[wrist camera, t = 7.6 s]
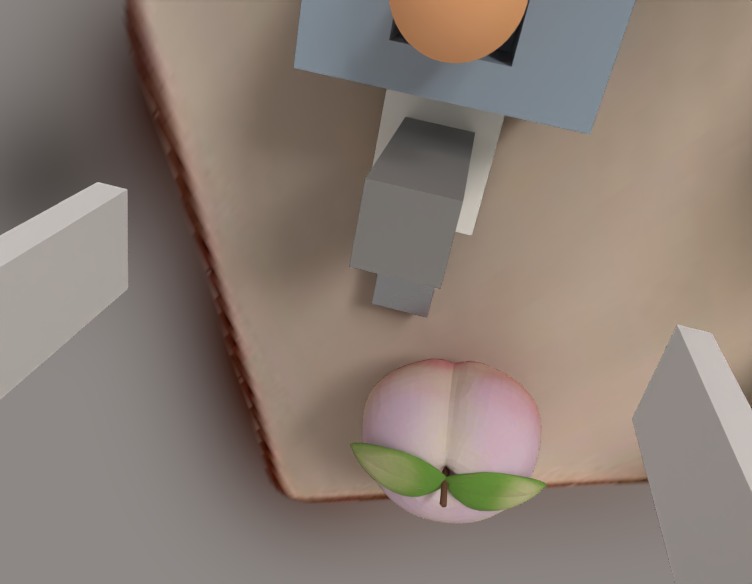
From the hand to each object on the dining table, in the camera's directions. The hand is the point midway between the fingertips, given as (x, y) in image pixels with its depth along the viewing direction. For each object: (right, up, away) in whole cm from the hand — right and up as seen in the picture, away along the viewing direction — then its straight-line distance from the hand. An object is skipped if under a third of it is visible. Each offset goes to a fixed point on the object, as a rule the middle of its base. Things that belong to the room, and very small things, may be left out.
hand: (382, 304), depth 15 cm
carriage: (+3, +8, +16) cm, 19 cm away
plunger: (+3, +10, +6) cm, 12 cm away
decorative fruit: (+5, -5, +23) cm, 24 cm away
